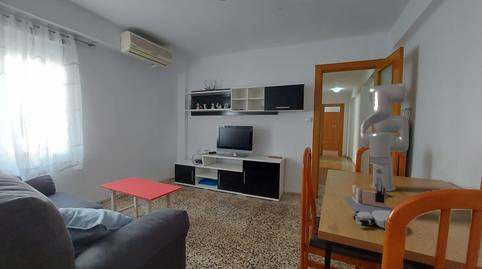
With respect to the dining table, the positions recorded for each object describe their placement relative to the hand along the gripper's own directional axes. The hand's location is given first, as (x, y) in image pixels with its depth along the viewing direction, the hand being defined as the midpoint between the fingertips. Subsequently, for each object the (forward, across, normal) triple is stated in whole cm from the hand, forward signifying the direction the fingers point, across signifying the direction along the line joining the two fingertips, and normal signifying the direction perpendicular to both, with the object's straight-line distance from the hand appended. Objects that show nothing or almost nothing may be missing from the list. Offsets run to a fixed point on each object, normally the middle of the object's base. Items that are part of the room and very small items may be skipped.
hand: (379, 202), depth 91 cm
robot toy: (+4, -16, +1) cm, 17 cm away
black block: (+4, +23, 0) cm, 24 cm away
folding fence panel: (+3, +3, +2) cm, 5 cm away
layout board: (+4, +4, +5) cm, 7 cm away
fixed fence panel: (+4, +7, +9) cm, 12 cm away
